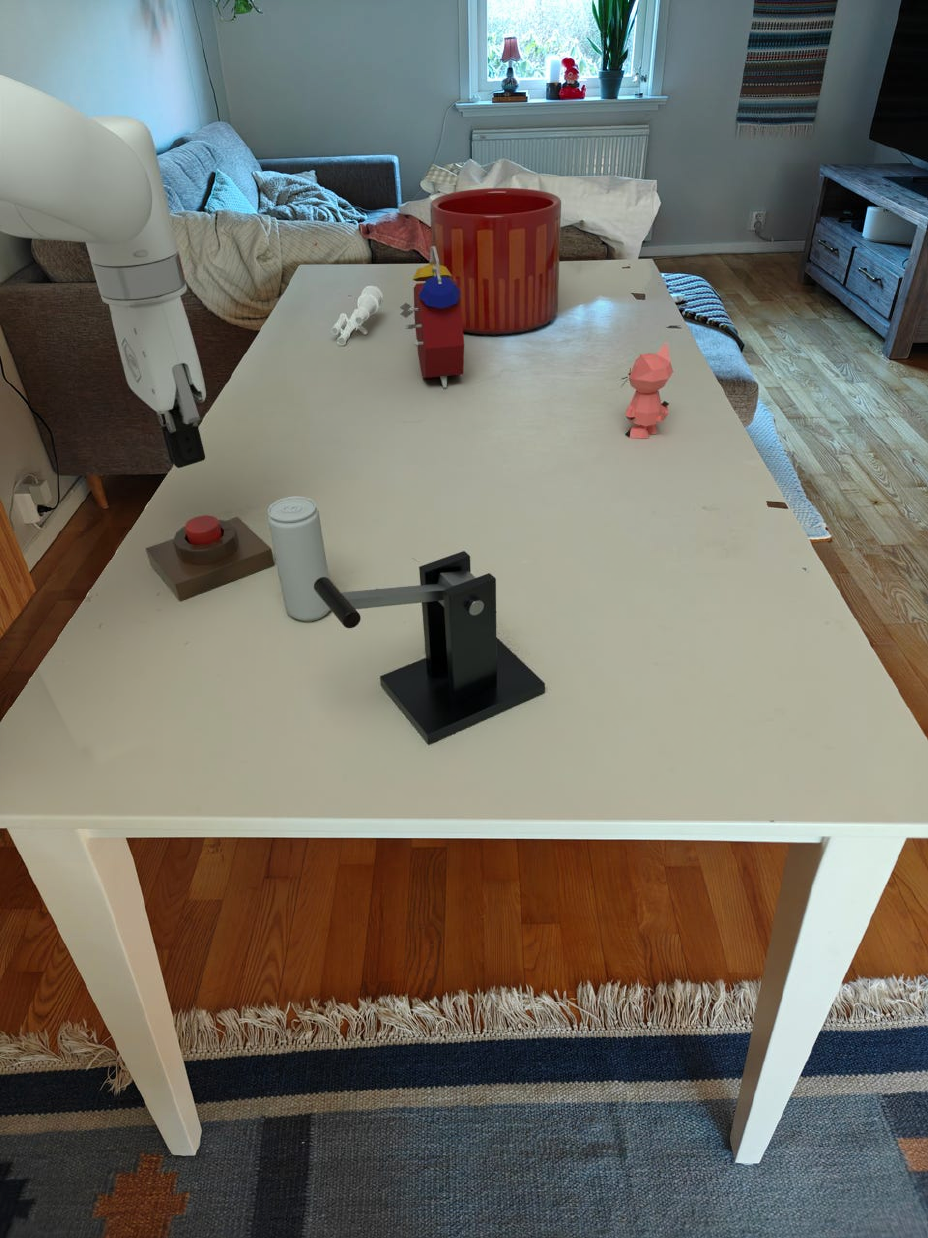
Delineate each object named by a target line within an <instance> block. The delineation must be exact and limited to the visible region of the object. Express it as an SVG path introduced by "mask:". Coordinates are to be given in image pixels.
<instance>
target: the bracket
mask: <svg viewBox="0 0 928 1238" xmlns="http://www.w3.org/2000/svg"><path fill="white" fill-rule="evenodd" d="M418 571H419V572H418V573H419V585H429V584H438V580H439V576H440V573H445V572H457V571H469V572H470V573H471V571H472V569H471V555H470V554H469V553H467V552H466V551H465V550H461V551H460V552H457V553H454V554H451V555H449V556H445V557H442V558H440V559H437V560H434V561H431V562H429V563H426V564H425V563H424V564H423V565H420V566H418ZM471 574H472V573H471ZM443 594H444V607H443V606H442V605H441V604H440V603H439V602H438V601H431V602H422V603H421V610H422V611H421V612H422V623H423V625H422V626H423V637H424V638H423V639H424V651H425V657H424V658H422V659H419V660H417V661H414V662H412V663H410V664H406V665H404V666H402V667H400V668H397V669H394V670H391V671H389V672H386V673H384V674H382V675H379V680H380V686H381V687H382V689H383V690H384V691H385V693H386V694H387V695H388V696H389V698H390V699H391V700H392V701H393V703H394V705H396V706H397V707H398V709H399V710H400V711H401V713H402V714H403V715H404V717H405V718H406V719H407V720H408V721H409V723H410V724H411V725H412V726H413V728H414V729H415V730H416V731H417V732H418V734H419V735H420V736H421V738H423V740H424V741H425V743H426V744H427V745H428V746H429V745H432V744H434V743H436V742H439V741H441V740H443V739H445V738H447V737H449V736H452V735H454V734H457V733H459V732H461V731H463V730H466V729H467V728H470V727H472V726H474V725H476V724H478V723H481V722H484V721H485V720H488V719H490V718H492V717H495V716H496V715H498V714H499V715H500V714H501V713H503V712H506V711H508V710H510V709H512V708H514V707H517V706H518V705H521V704H523V703H526V702H528V701H530V700H532V699H535V698H537V697H539V696H541V695H543V694H545V693H546V692H545V691H546V683H545V681H543V679H541V677H539V676H538V675H537V674H536V673H535V672H534V671H533V670H532V669H531V668H529V666H527V665H526V663H524V661H522V660H521V659H520V658H519V657H518V656H517V655H516V654H515V653H514V652H513V651H512V650H511V649H510V648H509V647H507V645H506V644H505V643H503V641H502V640H500V639H499V638H498V637H497V579H496V577H495V576H493V574H492V573H490V572H488V573H485V574H483V575H480V576H477V577H475V579H472V580H469V581H466V582H464V583H461V584H458V585H456V586H453V587H450V588H447V589H445V590H443Z"/></svg>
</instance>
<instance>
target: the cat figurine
mask: <svg viewBox="0 0 928 1238" xmlns="http://www.w3.org/2000/svg"><path fill="white" fill-rule="evenodd" d="M673 374H674V368H673V366H672V363H671V357H670V351H669V344H668V342H665V344H664V345H663V346H662V347H661V348H660V349H659V351H658V352H657V353H652V352H646V353H642V354H640V353H639V356H638V357H637V358H635V361H634V364H633V366H632V367H630V368H629V372H628V376H625V377H622V378H621V380H625V379H626V380H625V381H624V382H623V383H622V385H620V388H622V387H623V386H624V384H626V382H628V381H629V383H630V386H631V388H633V389H635V392H634V394H633V396H632V399H631V402H630V404H629V405H628V406H627V408H626V410H625V415H624V416H625V418H627V421H628V422H631V423H633V424H635V425H633V426H632V427H630V429H628V430H627V431H626V433H625V434H624V435H625V436H626V437H628V438H630V439H639V440H640V439H649V438H650V437H651V436H650V434H651V435H657V434H658V430H657V424H658V423H659V422H660V423H662V422H663V421H665V420H666V418H667V416H668V415H669V407H668V406H669V405H670V403H669V402H668V401H665V400H664V401H663V402H662V400H661V395H660V391H659V390H661V389H663V388H664V387H665V386H666V384H667V382H668V380H669V379H670V378H671V376H672V375H673Z"/></svg>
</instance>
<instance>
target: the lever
mask: <svg viewBox="0 0 928 1238" xmlns="http://www.w3.org/2000/svg"><path fill="white" fill-rule="evenodd" d="M475 578H476V576H475V575H473V574H472V573H470V572H469V571H457V572H445V573H440V576H439V580H438V584H429V585H420V584H419V585H410V586H409V585H408V586H396V587H386V588H375V589H365V590H364V589H363V590H353V591H340V590H339V588H338V587H337V586H336V585H335V584H334V582H332V580H331V579H330V577H329V578H327V577H321V578H319V579H318V580H316V582H315V583H314V590H315V591H316V593H317V594H318V595H319V596H320V597H321V599H322V600H323V601H324V602H325V604H326V605H327V606H328V607H329V608H330V611H331V612H332V614H333V615H334V616H335V617H336V618H337V620H338V621H339V622H340V623H341V625H342V626H343V627H344V628H346V629H353V628H356V627H357V626H358V625H359V624H360V622H361V614H360V613H359V611H358V610H363V609H373V608H380V607H381V608H383V607H392V606H393V607H394V606H401V605H412V604H422V602H431V601H438V602H439V603H440V604H441V605H442V606H443V607H444V594H443V590H445V589H447V588H450V587H453V586H456V585H458V584H461V583H464V582H466V581H469V580H472V579H475Z"/></svg>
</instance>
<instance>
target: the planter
mask: <svg viewBox="0 0 928 1238" xmlns="http://www.w3.org/2000/svg"><path fill="white" fill-rule="evenodd" d="M429 214H430V234H431V235H430V238H431V239H430V241H431V247H433V246H435V247H436V251H437V255H438V259H439V265H442V266H445V267H446V268H447V269H448V271H449V272H450V274H451V275H452V276H453V277H451V278H450V279H451V281H455V282H456V286H457V288H458V289H459V290H460V292H461V294H460V296H459V299H460V304H461V312H462V324H463V333H467V334H471V335H478V336H479V335H481V336H506V335H514V334H522V333H527V332H529V331H534V330H536V329H539V328H541V327H542V326H545V325H547V324H549V323H550V322H551V321H552V320H553V319H554V318H555V317H556V316H557V314H558V309H559V288H560V287H559V285H560V260H561V259H560V257H561V256H560V255H561V227H562V226H561V225H562V224H561V222H562V200H561V198H560V197H559V196H557V195H556V194H553V193H551V192H548V191H543V190H538V189H531V188H521V187H520V188H517V187H488V188H475V189H467V190H459V191H455V192H450V193H446V194H443V195H440V196H437V197H436V198H434V199H432V201H431V202H430V203H429ZM433 264H436V258H435V254H434V251H433Z"/></svg>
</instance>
